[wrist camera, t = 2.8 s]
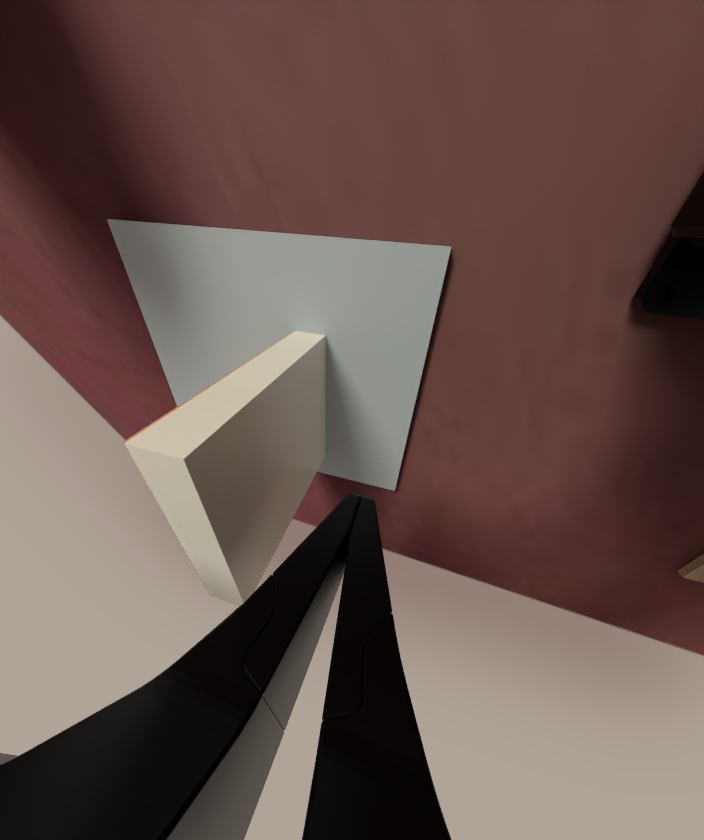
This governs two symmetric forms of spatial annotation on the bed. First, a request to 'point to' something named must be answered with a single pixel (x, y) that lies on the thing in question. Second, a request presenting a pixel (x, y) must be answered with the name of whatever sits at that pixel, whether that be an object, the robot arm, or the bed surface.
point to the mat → (295, 321)
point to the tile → (239, 461)
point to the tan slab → (694, 570)
